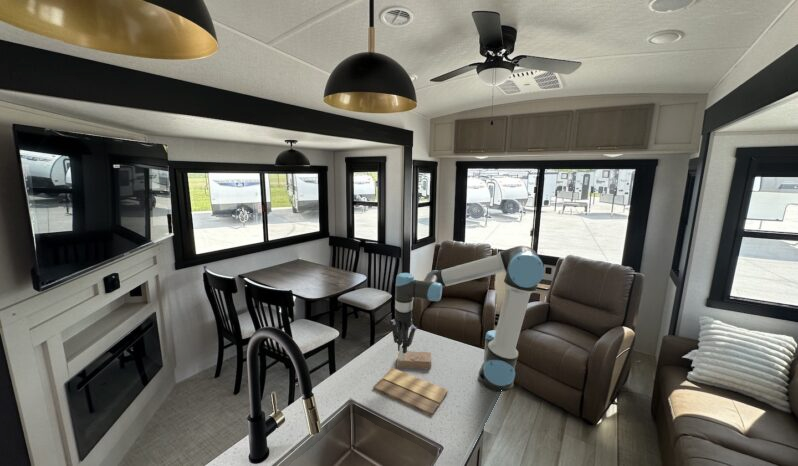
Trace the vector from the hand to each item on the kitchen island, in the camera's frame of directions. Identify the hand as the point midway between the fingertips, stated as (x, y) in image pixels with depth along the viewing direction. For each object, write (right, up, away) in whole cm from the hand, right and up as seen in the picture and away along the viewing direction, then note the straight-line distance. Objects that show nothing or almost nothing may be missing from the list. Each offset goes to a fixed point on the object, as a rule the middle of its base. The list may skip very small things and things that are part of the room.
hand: (402, 358), depth 137 cm
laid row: (+1, -13, -9) cm, 16 cm away
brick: (+6, -9, +15) cm, 18 cm away
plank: (+5, -11, -2) cm, 13 cm away
